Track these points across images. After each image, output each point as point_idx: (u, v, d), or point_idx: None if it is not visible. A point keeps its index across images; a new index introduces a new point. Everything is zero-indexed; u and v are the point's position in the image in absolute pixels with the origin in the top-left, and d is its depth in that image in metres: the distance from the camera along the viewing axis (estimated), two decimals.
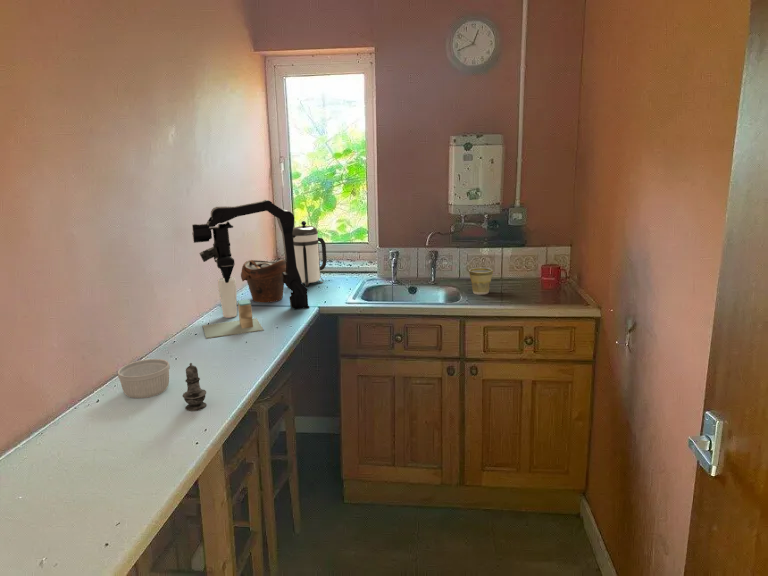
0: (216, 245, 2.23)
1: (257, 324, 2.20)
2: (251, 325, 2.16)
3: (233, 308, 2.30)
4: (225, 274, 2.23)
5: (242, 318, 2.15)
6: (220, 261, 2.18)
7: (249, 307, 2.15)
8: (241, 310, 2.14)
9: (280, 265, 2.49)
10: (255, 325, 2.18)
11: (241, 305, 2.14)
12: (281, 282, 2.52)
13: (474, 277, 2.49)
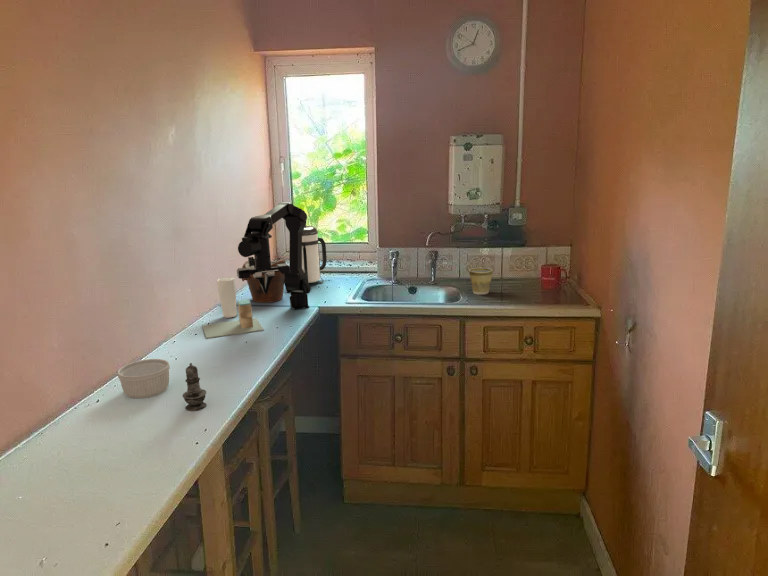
0: None
1: (257, 324, 2.20)
2: (251, 325, 2.16)
3: (233, 308, 2.30)
4: None
5: (242, 318, 2.15)
6: None
7: (249, 307, 2.15)
8: (241, 310, 2.14)
9: None
10: (255, 325, 2.18)
11: (241, 305, 2.14)
12: (281, 282, 2.52)
13: (474, 277, 2.49)
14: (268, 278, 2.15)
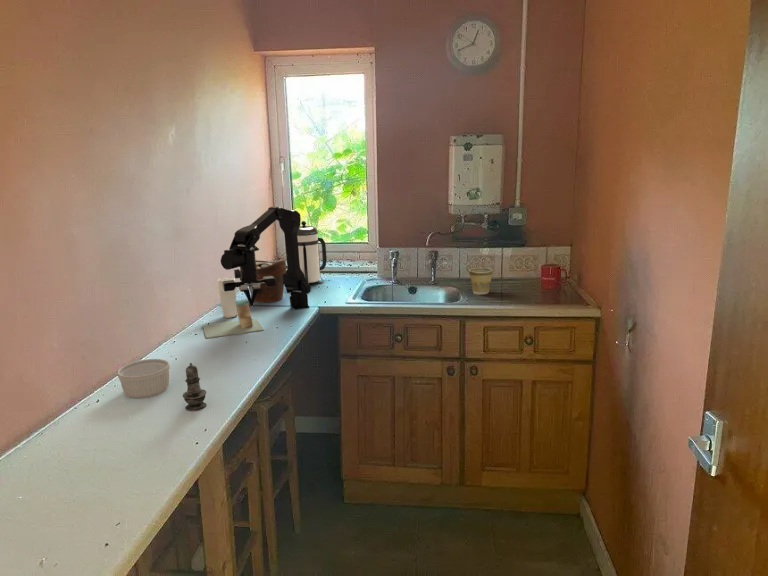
0: None
1: (257, 324, 2.20)
2: (251, 324, 2.16)
3: (233, 308, 2.30)
4: (247, 297, 2.17)
5: (241, 318, 2.15)
6: (222, 283, 2.14)
7: (247, 307, 2.14)
8: (239, 310, 2.14)
9: (280, 265, 2.49)
10: (255, 325, 2.18)
11: (239, 305, 2.13)
12: (281, 282, 2.52)
13: (474, 277, 2.49)
14: (254, 291, 2.14)
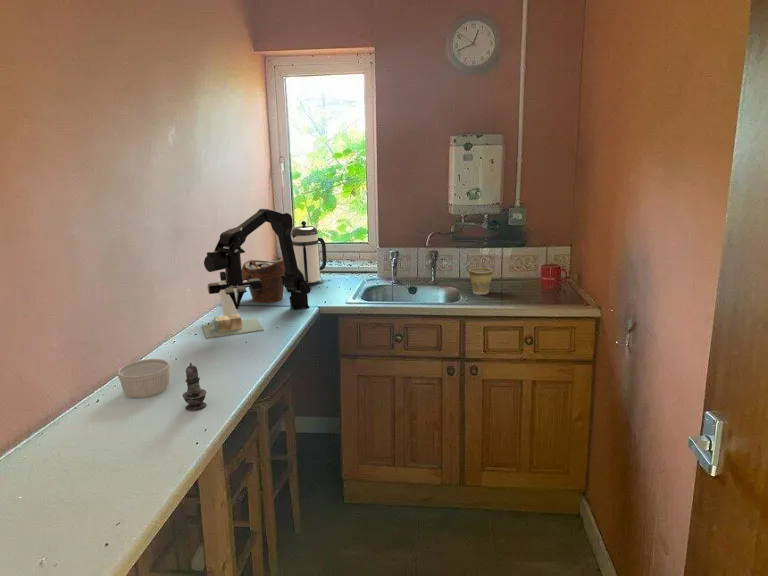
0: None
1: (257, 324, 2.20)
2: (239, 319, 2.14)
3: (233, 308, 2.30)
4: (232, 300, 2.15)
5: (231, 328, 2.14)
6: None
7: (219, 322, 2.12)
8: (222, 329, 2.13)
9: (280, 265, 2.49)
10: (255, 325, 2.18)
11: (217, 330, 2.12)
12: (281, 282, 2.52)
13: (474, 277, 2.49)
14: (239, 293, 2.13)
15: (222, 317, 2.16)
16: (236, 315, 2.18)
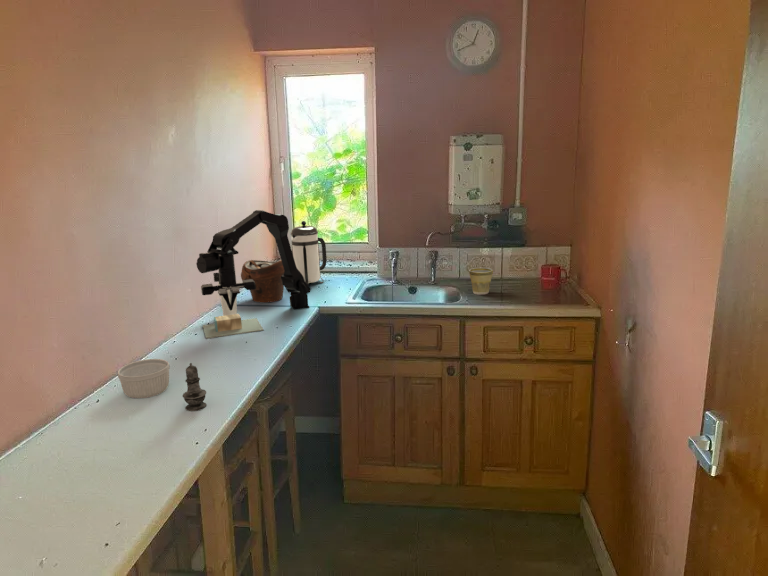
0: None
1: (257, 324, 2.20)
2: (239, 319, 2.14)
3: (233, 308, 2.30)
4: None
5: (231, 328, 2.14)
6: (201, 287, 2.12)
7: (219, 322, 2.12)
8: (222, 329, 2.13)
9: (280, 265, 2.49)
10: (255, 325, 2.18)
11: (217, 330, 2.12)
12: (281, 282, 2.52)
13: (474, 277, 2.49)
14: (233, 294, 2.12)
15: (222, 317, 2.16)
16: (236, 315, 2.18)
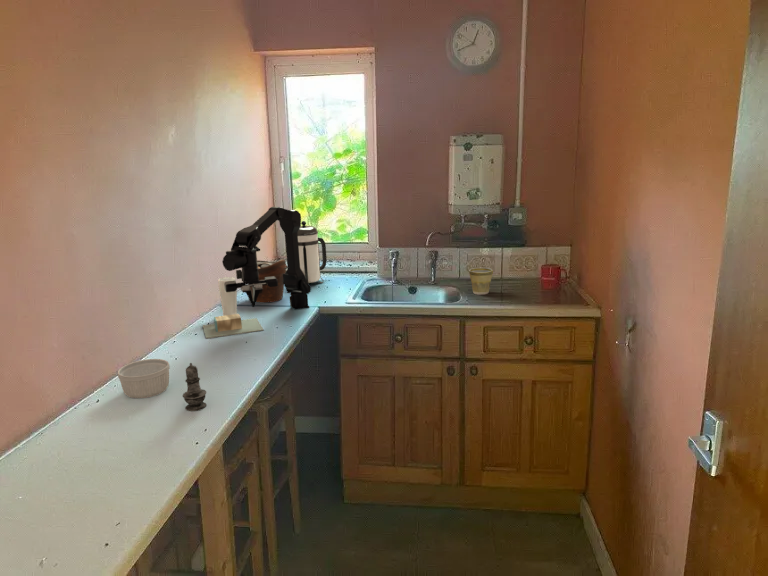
0: None
1: (257, 324, 2.20)
2: (239, 319, 2.14)
3: (233, 308, 2.30)
4: (249, 298, 2.18)
5: (231, 328, 2.14)
6: (224, 284, 2.15)
7: (219, 322, 2.12)
8: (222, 329, 2.13)
9: (280, 265, 2.49)
10: (255, 325, 2.18)
11: (217, 330, 2.12)
12: (281, 282, 2.52)
13: (474, 277, 2.49)
14: (256, 291, 2.15)
15: (222, 317, 2.16)
16: (236, 315, 2.18)
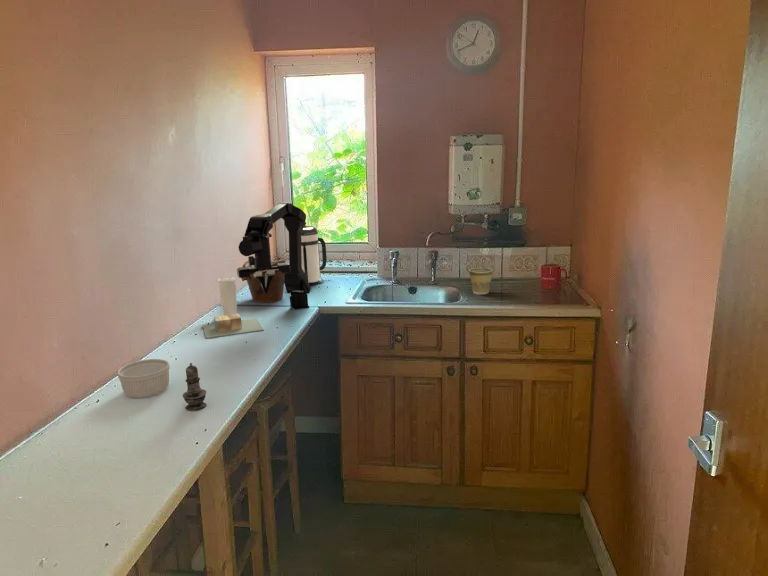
0: None
1: (257, 324, 2.20)
2: (239, 319, 2.14)
3: (233, 308, 2.30)
4: (261, 284, 2.17)
5: (231, 328, 2.14)
6: (237, 270, 2.14)
7: (219, 322, 2.12)
8: (222, 329, 2.13)
9: None
10: (255, 325, 2.18)
11: (217, 330, 2.12)
12: (281, 282, 2.52)
13: (474, 277, 2.49)
14: (268, 277, 2.14)
15: (222, 317, 2.16)
16: (236, 315, 2.18)
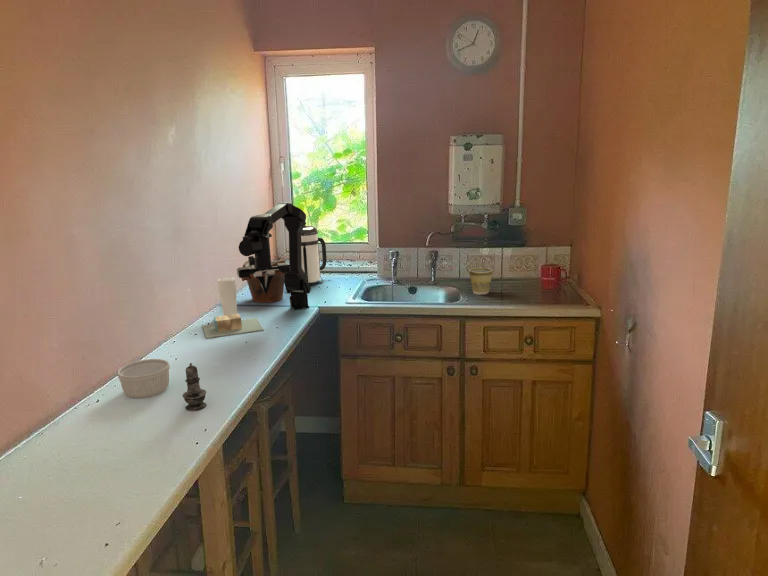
0: None
1: (257, 324, 2.20)
2: (239, 319, 2.14)
3: (233, 308, 2.30)
4: (261, 284, 2.17)
5: (231, 328, 2.14)
6: (237, 270, 2.14)
7: (219, 322, 2.12)
8: (222, 329, 2.13)
9: None
10: (255, 325, 2.18)
11: (217, 330, 2.12)
12: (281, 282, 2.52)
13: (474, 277, 2.49)
14: (268, 277, 2.14)
15: (222, 317, 2.16)
16: (236, 315, 2.18)
